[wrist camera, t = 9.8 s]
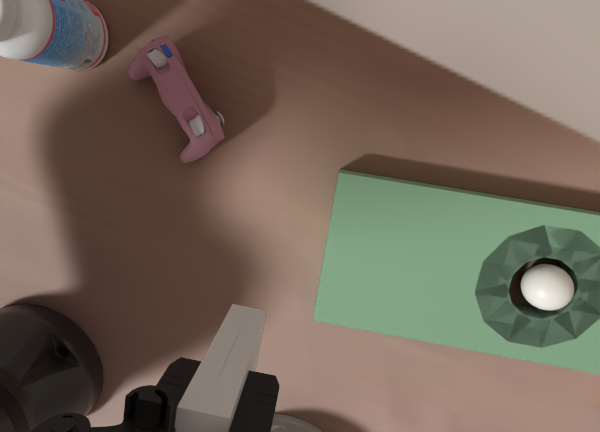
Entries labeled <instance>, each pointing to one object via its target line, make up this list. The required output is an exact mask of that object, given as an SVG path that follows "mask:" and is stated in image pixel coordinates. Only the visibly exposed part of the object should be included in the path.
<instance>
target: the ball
mask: <svg viewBox="0 0 600 432" xmlns="http://www.w3.org/2000/svg"><path fill="white" fill-rule="evenodd" d="M521 291H522V294H523V296H524V297H525V299H526V300H527V301H528V302H529V303H530V304H531V305H533V306H535V307H537V308H539V309H542V310H557V309H560V308H562V307H564V306H566V305H567V304H568V303H569V302H570V301H571V299H572V297H573V295H574V284H573V281H572V279H571V277H570V276H569V275H568V273H567V272H565V271H564V270H563V269H561V268H560V267H558V266H555V265H551V264H539V265H536V266H533V267H531V268H530V269H528V270H527V271H526V272H525V273H524V275H523V277H522V280H521Z"/></svg>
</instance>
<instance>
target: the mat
mask: <svg viewBox="0 0 600 432" xmlns="http://www.w3.org/2000/svg"><path fill="white" fill-rule="evenodd" d="M543 257H546V258H551V259H557V260H558V261H559V262H560V266H561V269H563V270H564V271H565V272H567V273H568V275H569V276H570V277H571V279H572V281H573V284H574V295H573V297H572V299H571V301H570V302H569V303H568V304H567V305H566V306H564V307H562V308H560V309H557V310H542V309H539V308H537V307H535V306H533V305H532V306H526V305H521V304H515V303H513V302H512V301H511V298H510V294H509V291H508V290H509V287H510V283H511V280H512V277H513V274H515V273H516V272H517V271H518V270H519V269H520V268H521V267H522V266H523V265H524V264H525V263H526V262H530V261H533V260H536V259H539V258H543ZM313 321H318V322H323V323H329V324H334V325H339V326H345V327H350V328H355V329H361V330H366V331H371V332H377V333H382V334H387V335H393V336H398V337H403V338H409V339H414V340H419V341H425V342H430V343H435V344H441V345H446V346H451V347H457V348H462V349H467V350H473V351H478V352H483V353H488V354H494V355H499V356H504V357H510V358H515V359H520V360H526V361H531V362H536V363H542V364H547V365H552V366H558V367H563V368H568V369H574V370H579V371H584V372H590V373H595V374H600V212H597V211H591V210H585V209H579V208H573V207H567V206H561V205H554V204H548V203H542V202H536V201H530V200H524V199H518V198H512V197H506V196H500V195H494V194H488V193H481V192H475V191H469V190H463V189H457V188H451V187H445V186H439V185H433V184H427V183H421V182H415V181H408V180H402V179H396V178H390V177H384V176H378V175H372V174H366V173H360V172H354V171H348V170H342V169H339V173H338V179H337V185H336V190H335V196H334V202H333V207H332V213H331V219H330V224H329V230H328V236H327V241H326V247H325V253H324V259H323V264H322V270H321V276H320V281H319V287H318V293H317V298H316V304H315V310H314V317H313Z"/></svg>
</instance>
